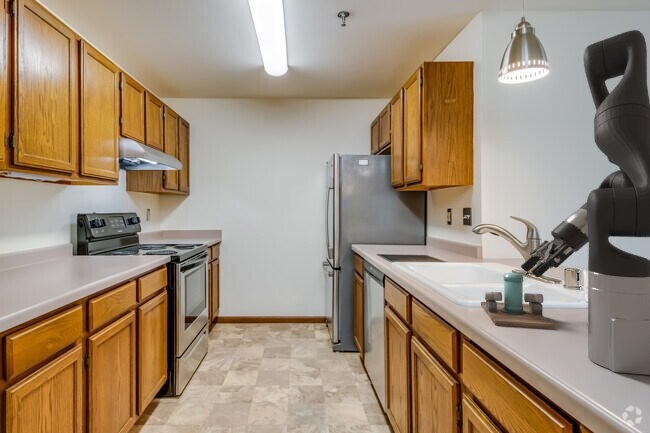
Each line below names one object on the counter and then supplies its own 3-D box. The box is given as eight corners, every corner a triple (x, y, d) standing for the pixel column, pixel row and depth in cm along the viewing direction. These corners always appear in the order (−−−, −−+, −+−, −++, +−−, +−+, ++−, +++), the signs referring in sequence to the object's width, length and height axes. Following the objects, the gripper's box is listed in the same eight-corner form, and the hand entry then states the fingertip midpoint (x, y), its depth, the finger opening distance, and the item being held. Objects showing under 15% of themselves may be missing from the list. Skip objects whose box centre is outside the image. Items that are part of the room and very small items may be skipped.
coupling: (525, 313, 91) (525, 276, 91) (506, 312, 92) (506, 275, 92) (520, 308, 95) (520, 273, 95) (501, 307, 96) (501, 272, 96)
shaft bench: (555, 329, 83) (555, 303, 83) (493, 325, 87) (492, 300, 86) (530, 308, 101) (530, 286, 100) (479, 305, 104) (479, 284, 104)
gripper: (554, 219, 97) (510, 258, 100) (578, 220, 83) (526, 266, 86) (575, 238, 96) (530, 277, 99) (603, 242, 82) (550, 287, 85)
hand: (528, 272), depth 92 cm, fingers open, 8 cm apart
